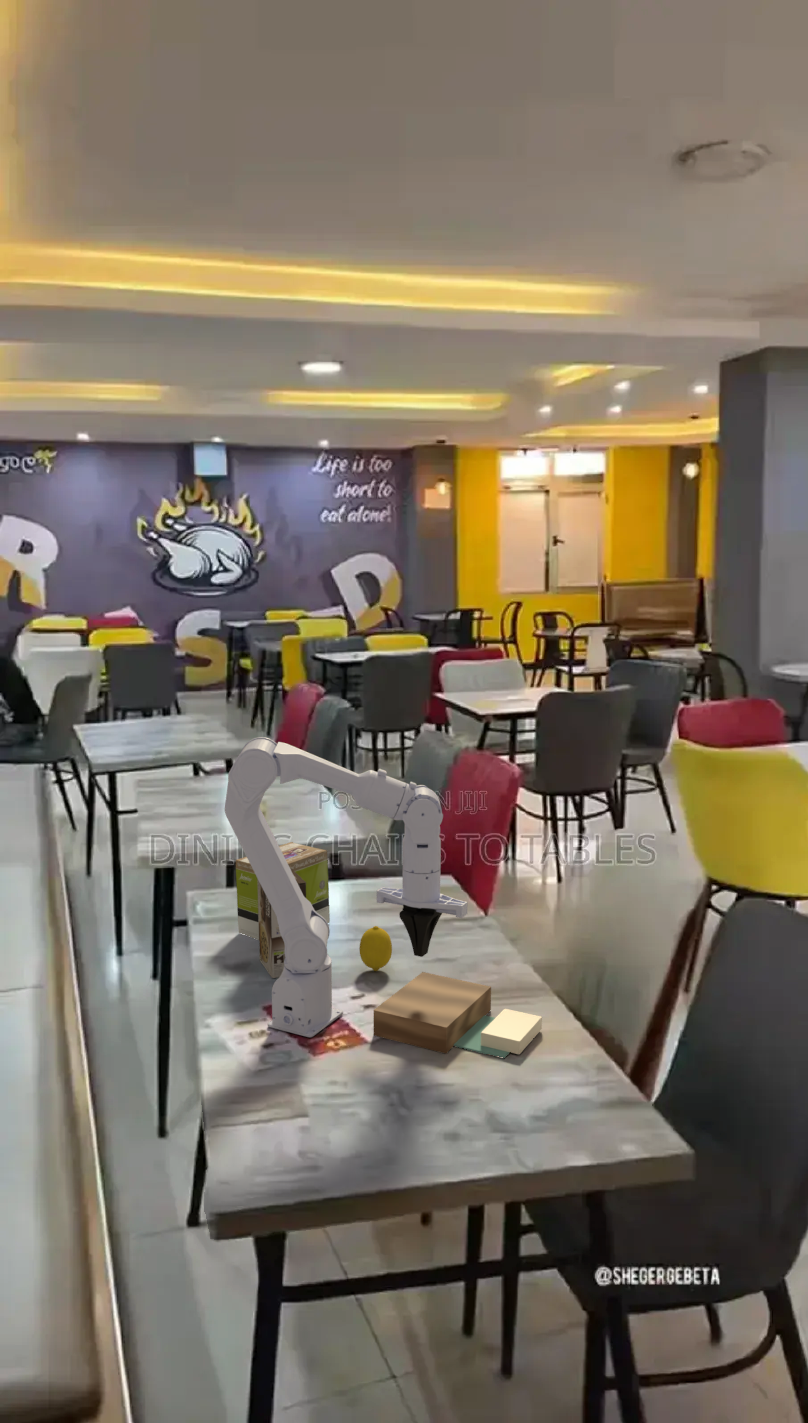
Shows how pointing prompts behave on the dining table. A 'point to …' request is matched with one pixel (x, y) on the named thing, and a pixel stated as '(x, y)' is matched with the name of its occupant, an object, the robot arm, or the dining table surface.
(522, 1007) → the dining table surface
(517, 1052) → the cream rectangular block
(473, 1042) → the mat
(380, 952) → the lemon
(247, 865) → the tea box
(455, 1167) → the dining table surface
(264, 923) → the coffee box
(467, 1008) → the brown wooden flat block
